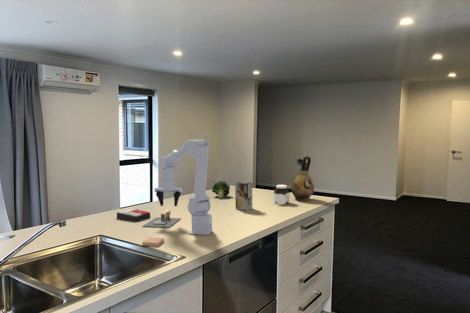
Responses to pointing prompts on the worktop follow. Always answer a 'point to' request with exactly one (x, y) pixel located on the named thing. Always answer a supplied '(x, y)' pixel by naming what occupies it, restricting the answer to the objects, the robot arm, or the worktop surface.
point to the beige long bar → (163, 218)
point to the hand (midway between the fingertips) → (168, 205)
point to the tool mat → (170, 223)
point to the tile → (153, 241)
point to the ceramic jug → (303, 181)
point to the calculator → (133, 215)
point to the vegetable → (221, 189)
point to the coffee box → (243, 195)
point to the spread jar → (281, 194)
